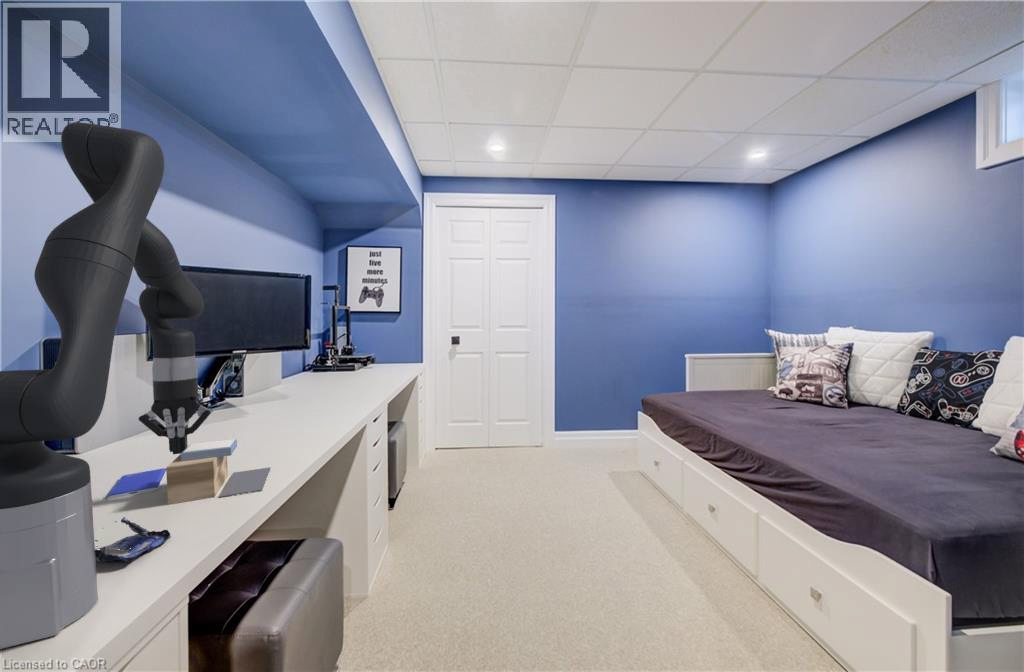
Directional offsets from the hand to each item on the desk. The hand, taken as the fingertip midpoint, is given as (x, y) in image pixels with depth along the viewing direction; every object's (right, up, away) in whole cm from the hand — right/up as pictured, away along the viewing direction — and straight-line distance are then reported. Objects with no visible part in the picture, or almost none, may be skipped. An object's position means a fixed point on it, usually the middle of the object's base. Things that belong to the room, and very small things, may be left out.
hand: (178, 452), depth 86 cm
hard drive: (-13, -10, +4) cm, 17 cm away
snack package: (+9, -11, -21) cm, 26 cm away
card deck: (+5, -1, +2) cm, 6 cm away
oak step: (+3, -9, +2) cm, 10 cm away
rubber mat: (+11, -9, +6) cm, 15 cm away
